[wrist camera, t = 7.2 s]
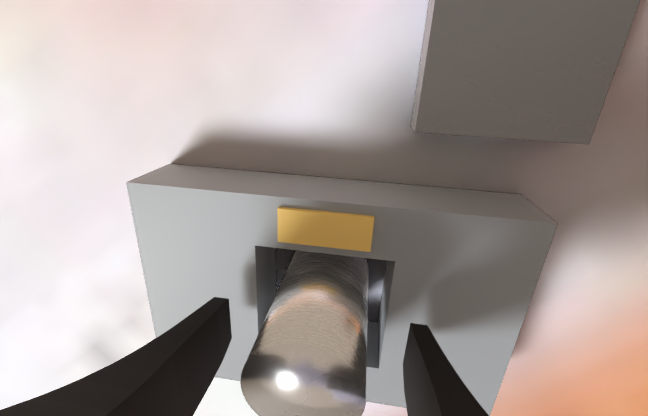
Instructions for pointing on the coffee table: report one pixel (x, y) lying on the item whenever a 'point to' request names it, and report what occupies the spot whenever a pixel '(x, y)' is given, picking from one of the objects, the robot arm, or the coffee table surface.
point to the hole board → (348, 240)
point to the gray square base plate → (519, 67)
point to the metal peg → (312, 341)
